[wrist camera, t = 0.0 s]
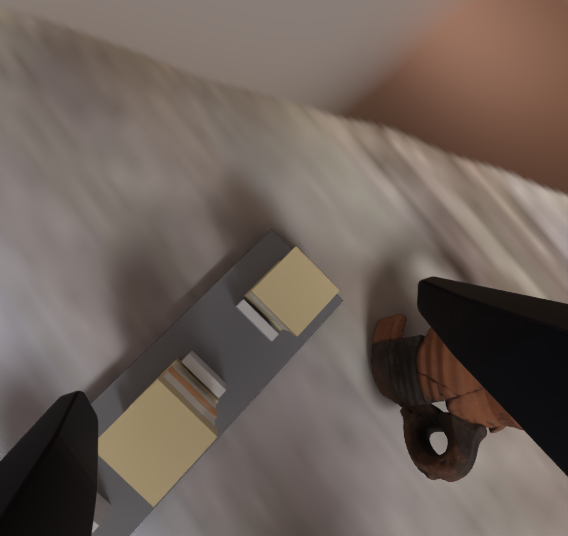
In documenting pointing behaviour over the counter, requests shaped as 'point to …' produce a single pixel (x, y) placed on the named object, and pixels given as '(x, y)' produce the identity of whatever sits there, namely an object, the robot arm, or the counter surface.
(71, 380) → the counter surface
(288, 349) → the block
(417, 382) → the pottery mug
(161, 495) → the block
